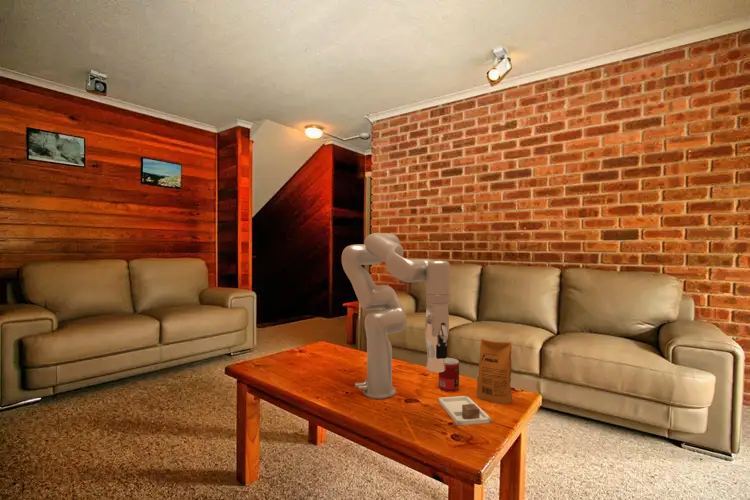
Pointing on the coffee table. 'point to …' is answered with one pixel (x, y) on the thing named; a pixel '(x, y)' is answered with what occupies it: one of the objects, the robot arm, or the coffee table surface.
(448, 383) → the canned food
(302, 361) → the coffee table surface
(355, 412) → the coffee table surface
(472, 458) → the coffee table surface
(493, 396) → the coffee package
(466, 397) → the tray
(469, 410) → the walnut block
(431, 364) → the beer glass
